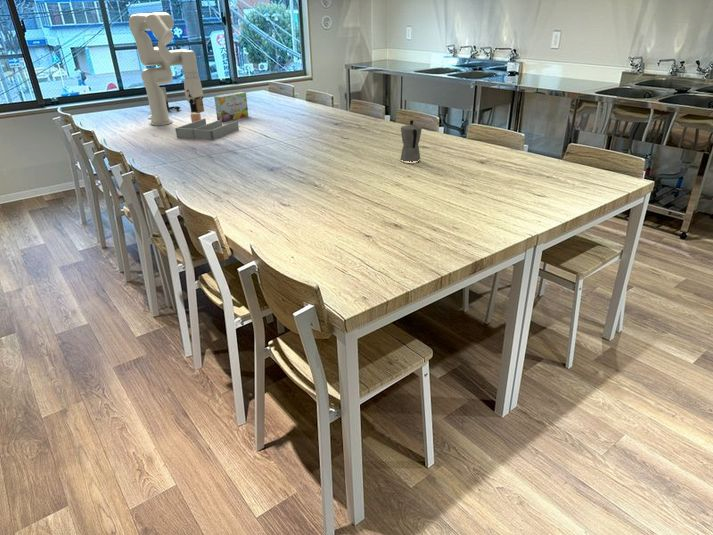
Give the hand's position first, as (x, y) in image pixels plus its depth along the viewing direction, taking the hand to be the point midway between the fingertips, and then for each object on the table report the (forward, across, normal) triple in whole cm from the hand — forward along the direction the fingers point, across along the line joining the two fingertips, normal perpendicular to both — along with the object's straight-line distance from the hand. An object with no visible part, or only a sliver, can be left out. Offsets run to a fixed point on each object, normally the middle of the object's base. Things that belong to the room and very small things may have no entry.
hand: (197, 110), depth 271 cm
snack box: (+13, -38, -3) cm, 40 cm away
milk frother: (+12, -50, -63) cm, 81 cm away
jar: (+12, -13, -12) cm, 22 cm away
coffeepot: (+13, +22, +128) cm, 130 cm away
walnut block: (+1, 0, 0) cm, 1 cm away
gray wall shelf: (+12, 0, +5) cm, 13 cm away
